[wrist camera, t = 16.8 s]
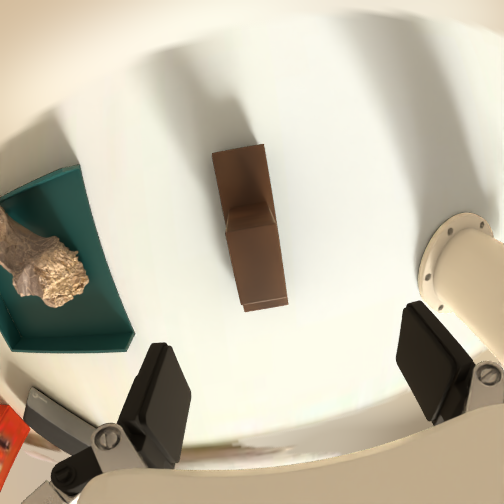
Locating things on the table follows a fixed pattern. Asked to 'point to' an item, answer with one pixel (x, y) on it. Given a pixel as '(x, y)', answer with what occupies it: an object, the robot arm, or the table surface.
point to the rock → (39, 264)
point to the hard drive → (56, 423)
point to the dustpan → (89, 253)
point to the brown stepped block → (251, 226)
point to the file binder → (10, 439)
